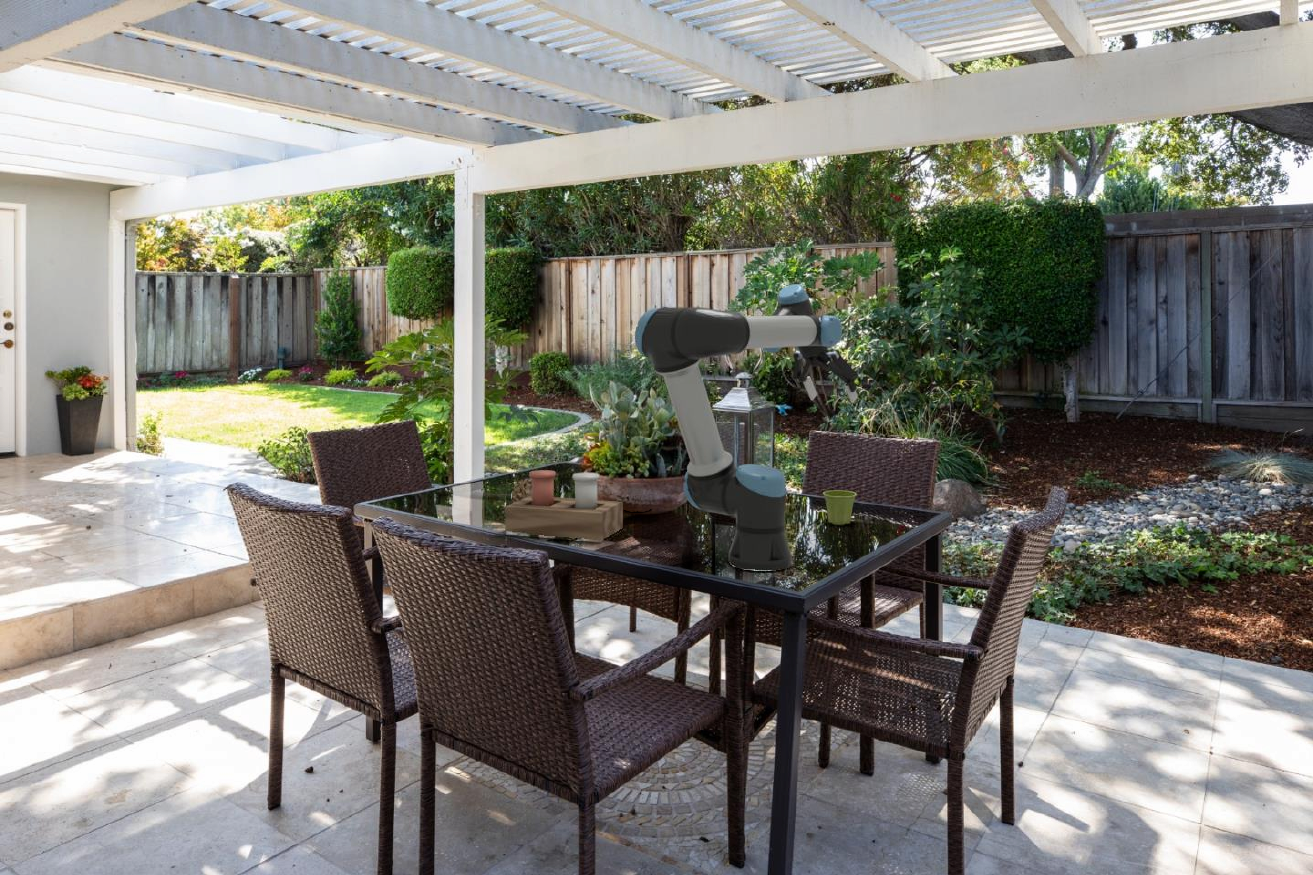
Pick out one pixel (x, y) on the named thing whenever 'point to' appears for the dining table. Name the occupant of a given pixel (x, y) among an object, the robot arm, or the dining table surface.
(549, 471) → the red plug
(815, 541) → the dining table surface
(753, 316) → the robot arm
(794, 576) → the dining table surface
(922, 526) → the dining table surface
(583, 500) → the grey plug
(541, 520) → the brown wooden plug box
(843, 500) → the plant pot
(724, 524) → the dining table surface
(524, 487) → the pine cone
